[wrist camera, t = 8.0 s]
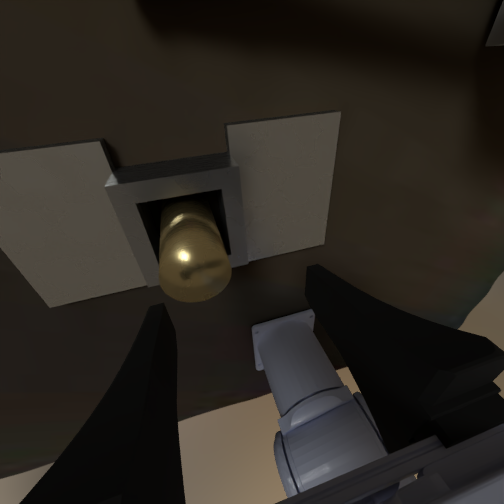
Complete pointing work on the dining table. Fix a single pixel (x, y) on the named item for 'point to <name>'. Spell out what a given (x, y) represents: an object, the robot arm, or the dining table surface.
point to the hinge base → (155, 188)
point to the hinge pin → (191, 250)
